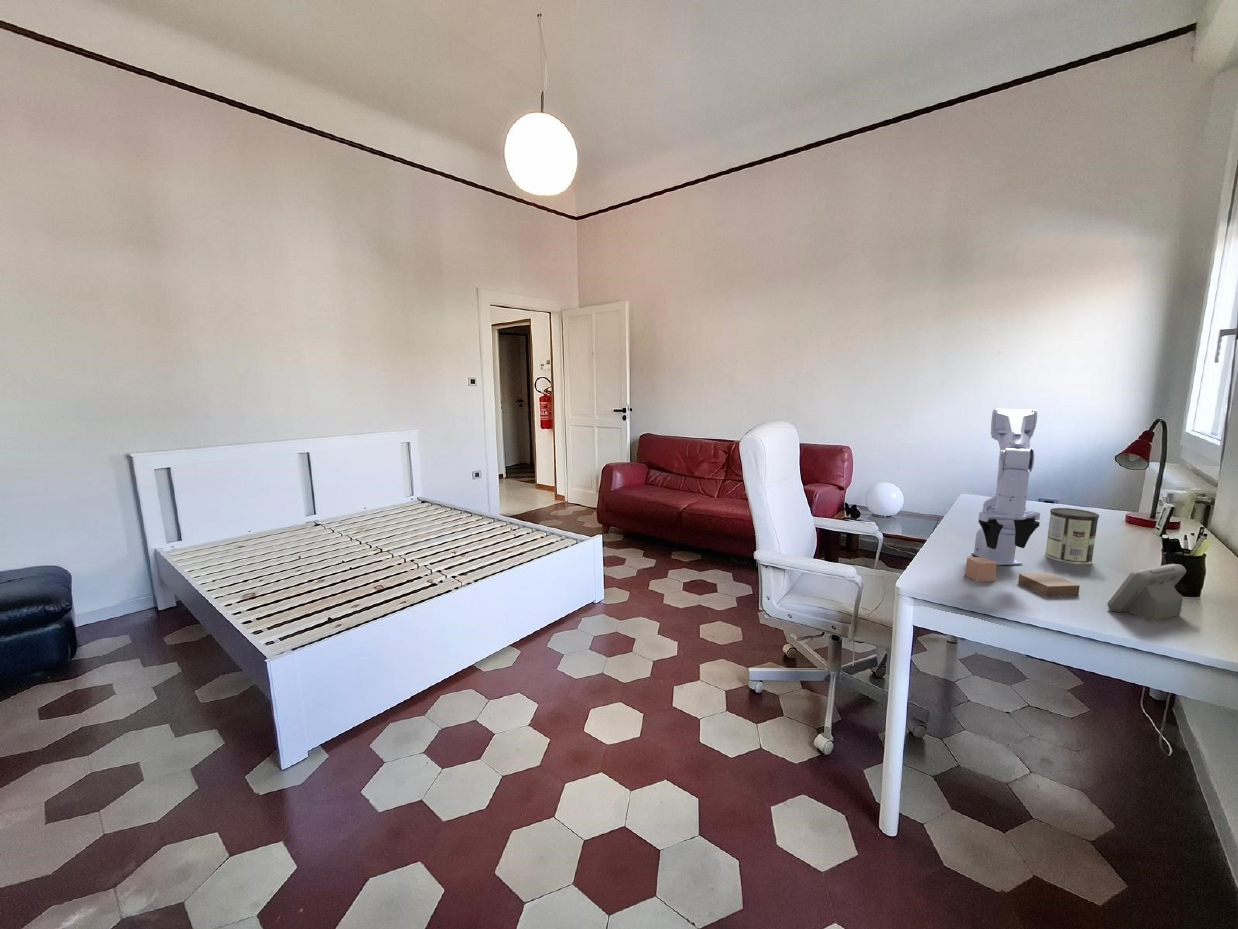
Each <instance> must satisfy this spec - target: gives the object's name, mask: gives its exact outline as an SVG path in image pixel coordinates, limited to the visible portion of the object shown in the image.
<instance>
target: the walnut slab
mask: <svg viewBox="0 0 1238 929" xmlns="http://www.w3.org/2000/svg"><path fill="white" fill-rule="evenodd" d="M1018 584H1019V585H1020V586H1023V587H1025V588H1027V589H1029V590H1031V591H1034V592H1035V593H1037V594H1039V595H1042V596H1043V597H1047V598H1048V597H1050V598H1051V597H1072V596H1073V597H1076V596H1077V597H1079V594H1080V587H1081V585H1080V584H1077V583H1075V582H1072V581H1071V580H1068V579H1066V578H1063V577H1061V576H1059V575H1056V574H1053V573H1051V572H1039V573H1038V572H1036V573H1035V572H1033V573H1030V572H1029V573H1019V574H1018Z"/></svg>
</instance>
